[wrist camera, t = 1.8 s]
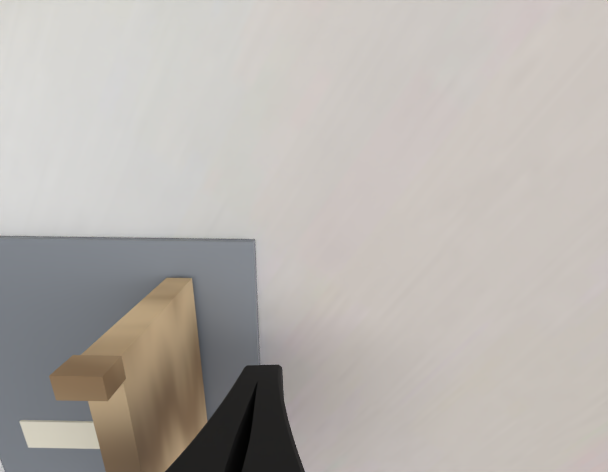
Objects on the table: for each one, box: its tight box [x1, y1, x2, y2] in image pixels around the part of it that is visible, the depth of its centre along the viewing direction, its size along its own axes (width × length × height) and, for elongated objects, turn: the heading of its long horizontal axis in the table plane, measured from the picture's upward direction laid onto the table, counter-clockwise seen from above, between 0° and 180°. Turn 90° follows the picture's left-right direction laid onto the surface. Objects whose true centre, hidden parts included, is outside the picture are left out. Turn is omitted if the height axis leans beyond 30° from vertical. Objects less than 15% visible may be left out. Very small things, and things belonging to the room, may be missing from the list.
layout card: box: [0, 236, 260, 472], centre depth 17 cm, size 21×16×1 cm
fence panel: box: [49, 278, 207, 472], centre depth 12 cm, size 9×1×6 cm, turn 179°
